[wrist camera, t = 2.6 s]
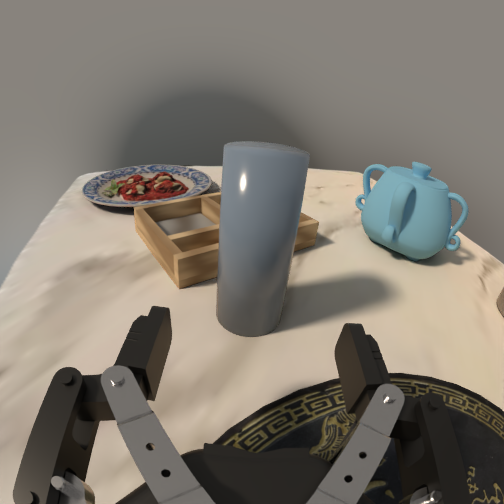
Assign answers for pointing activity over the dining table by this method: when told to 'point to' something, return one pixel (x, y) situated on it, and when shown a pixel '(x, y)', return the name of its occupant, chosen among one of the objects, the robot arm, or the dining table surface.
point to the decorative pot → (409, 211)
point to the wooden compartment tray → (194, 236)
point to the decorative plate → (387, 473)
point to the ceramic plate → (145, 185)
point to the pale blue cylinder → (257, 233)
